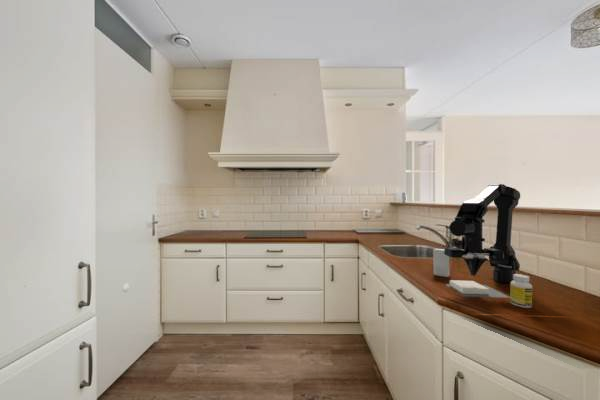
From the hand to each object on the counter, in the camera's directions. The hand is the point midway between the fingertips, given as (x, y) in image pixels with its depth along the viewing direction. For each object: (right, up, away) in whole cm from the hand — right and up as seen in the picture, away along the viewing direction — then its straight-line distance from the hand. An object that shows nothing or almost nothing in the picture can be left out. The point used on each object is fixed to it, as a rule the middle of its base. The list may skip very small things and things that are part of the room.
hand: (473, 275), depth 95 cm
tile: (+3, -4, 0) cm, 5 cm away
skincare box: (-1, -6, +20) cm, 21 cm away
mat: (+1, -6, 0) cm, 6 cm away
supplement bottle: (+7, -6, -12) cm, 16 cm away
